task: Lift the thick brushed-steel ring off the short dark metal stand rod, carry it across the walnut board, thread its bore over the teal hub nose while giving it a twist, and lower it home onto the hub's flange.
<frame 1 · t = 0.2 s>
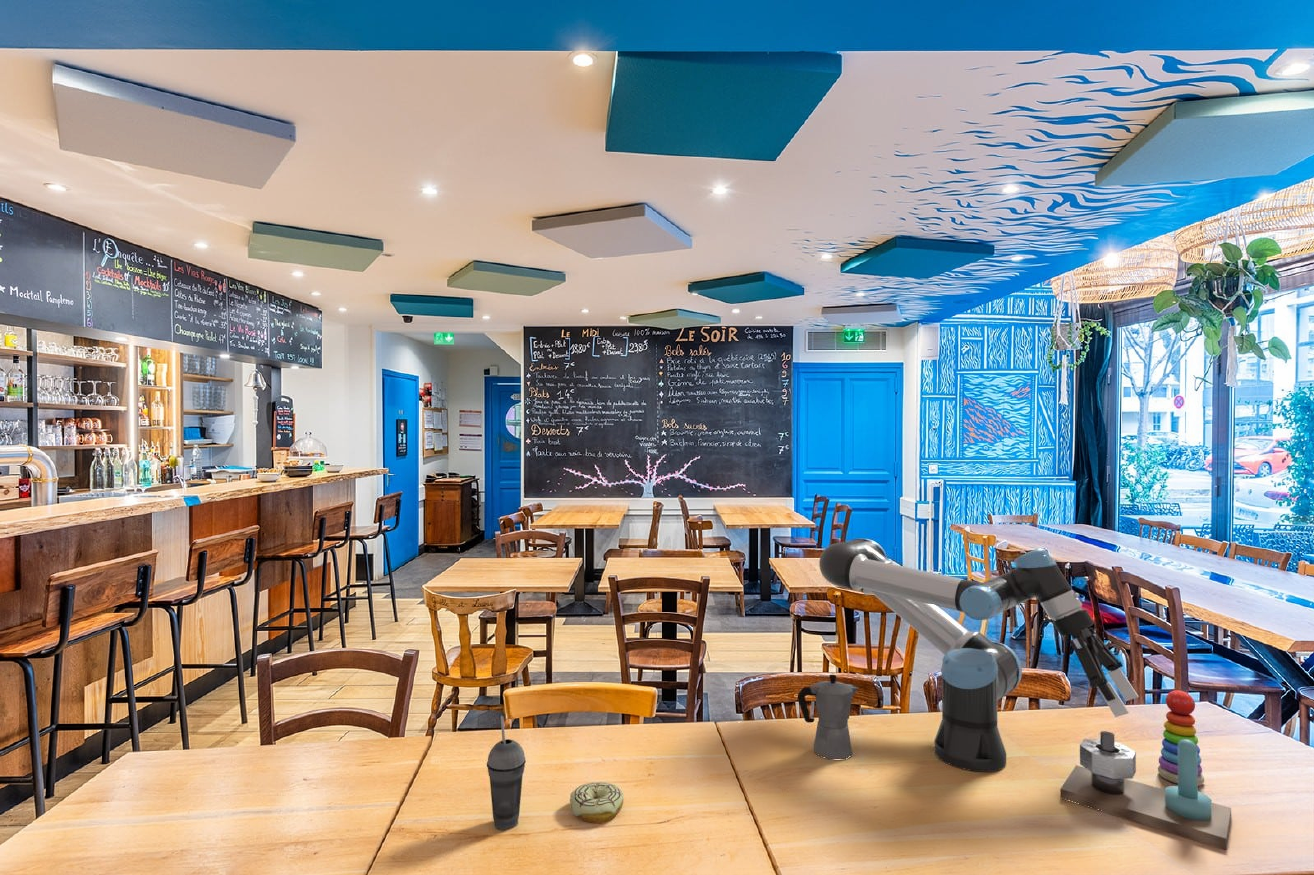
hand: (1127, 706, 148), 15 cm above the table, tool tilted 30°, fingers open, 13 cm apart
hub: (1188, 821, 131), resting on walnut board
stand rod: (1107, 797, 140), resting on walnut board
walnut board: (1143, 808, 136), on the table
beverage cup: (506, 824, 130), on the table
steel ring: (1107, 768, 140), point 6 cm above the table, touching stand rod
coffeepot: (828, 753, 160), on the table
stacking toy: (1180, 780, 148), on the table
decorated donut: (596, 812, 135), on the table
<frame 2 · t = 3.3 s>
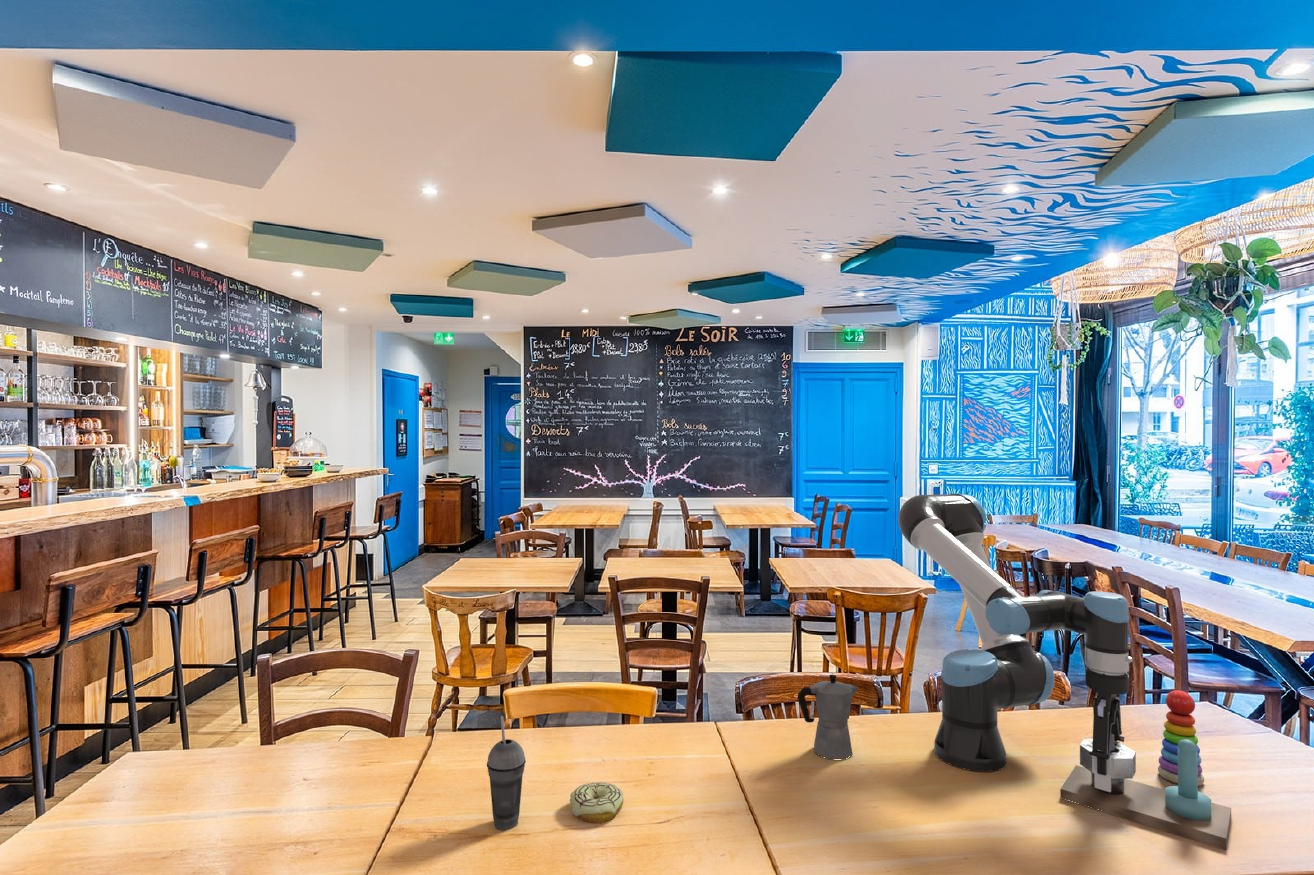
hand: (1107, 780, 140), 3 cm above the table, tool pointing down, fingers closed on steel ring, 9 cm apart
steel ring: (1107, 768, 140), point 6 cm above the table, touching gripper, stand rod
everything else where it was.
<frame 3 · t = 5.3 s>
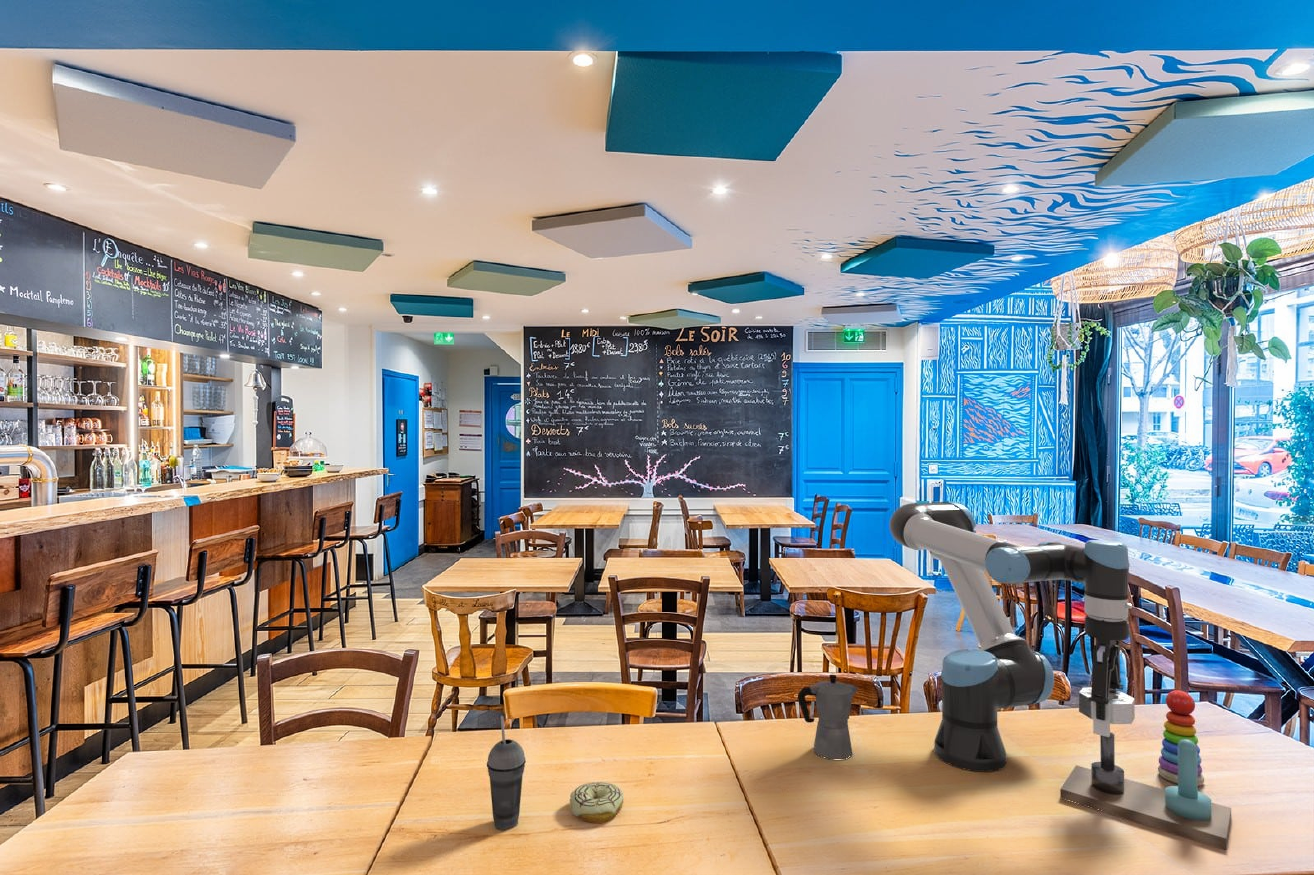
hand: (1106, 727, 140), 14 cm above the table, tool pointing down, fingers closed on steel ring, 9 cm apart
steel ring: (1106, 715, 140), point 17 cm above the table, touching gripper
everything else where it was.
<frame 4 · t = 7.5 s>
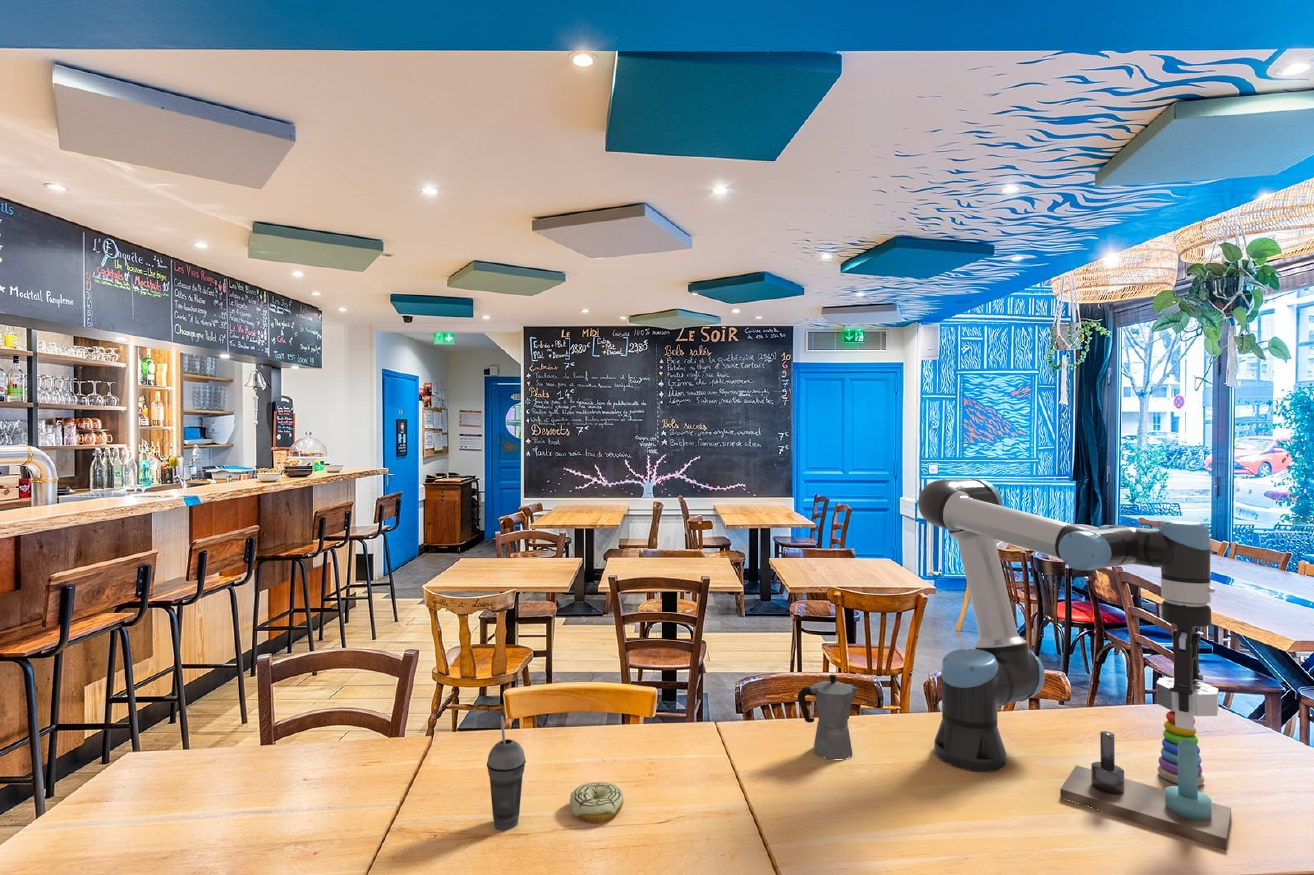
hand: (1187, 720, 131), 19 cm above the table, tool pointing down, fingers closed on steel ring, 9 cm apart
steel ring: (1187, 706, 131), point 22 cm above the table, touching gripper
everything else where it was.
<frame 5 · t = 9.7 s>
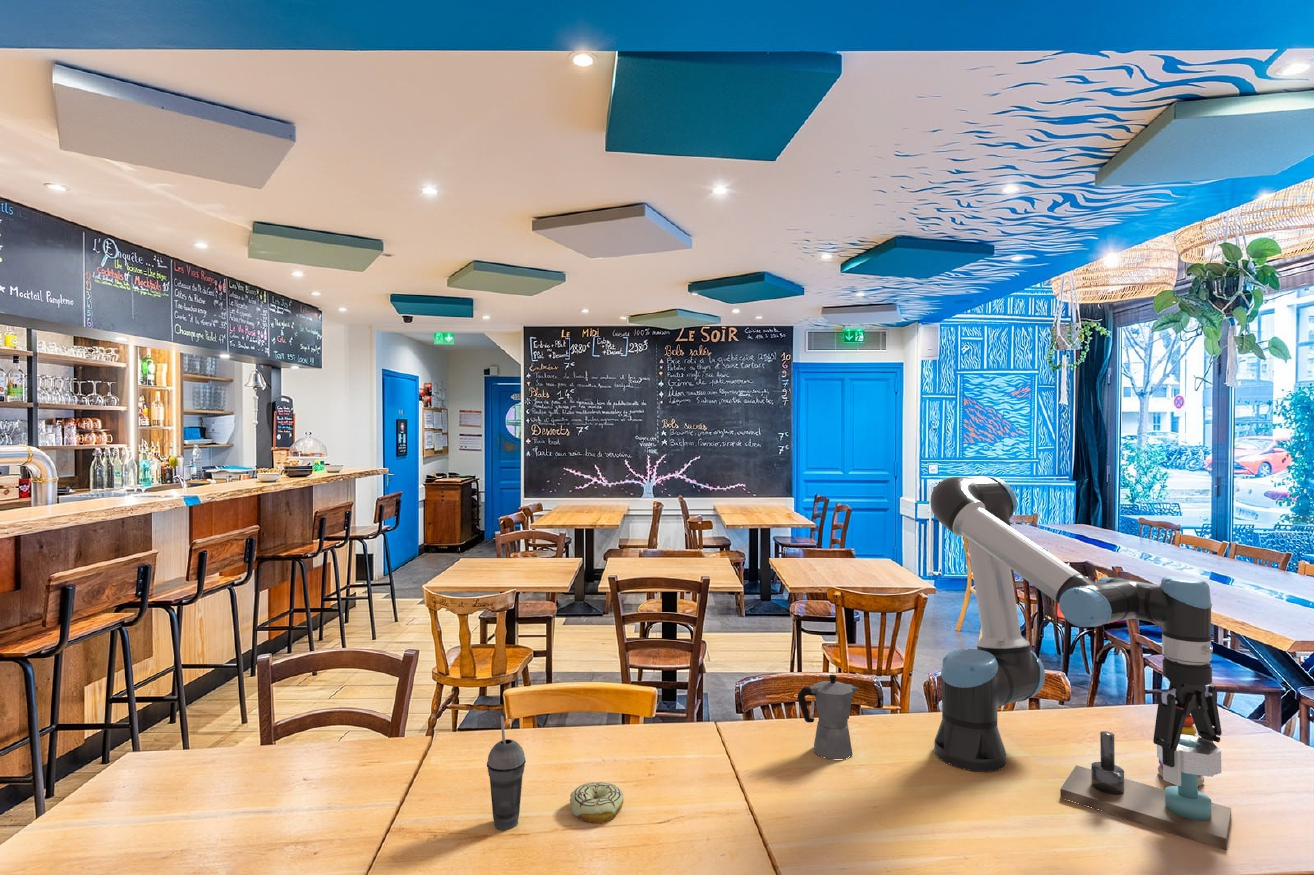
hand: (1188, 778, 131), 8 cm above the table, tool pointing down, fingers closed on steel ring, 9 cm apart
steel ring: (1188, 764, 131), point 11 cm above the table, touching gripper
everything else where it was.
when the fingers open (3 cm above the table, at t = 11.7 s): steel ring stays where it is, resting on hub.
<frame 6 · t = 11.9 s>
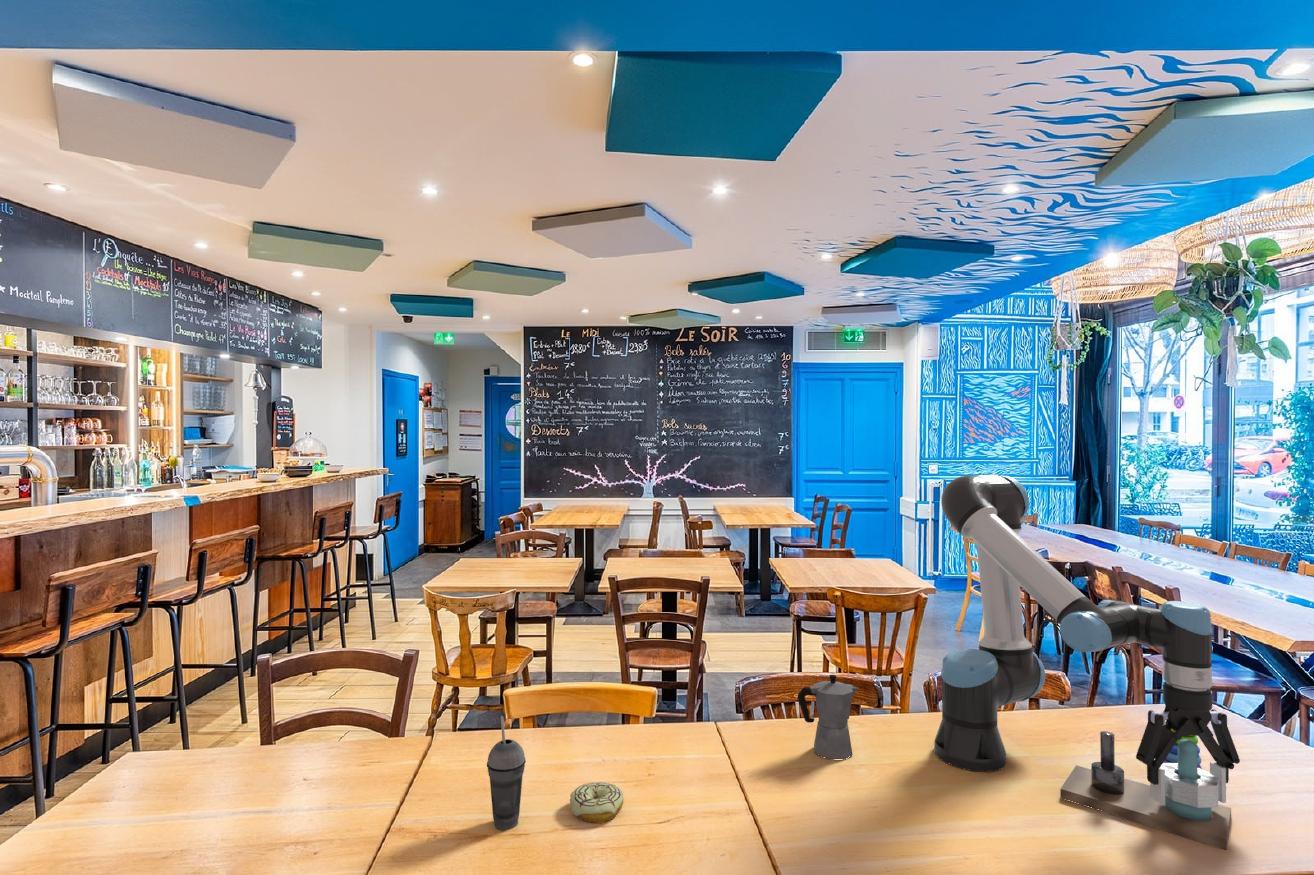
hand: (1187, 800, 131), 4 cm above the table, tool pointing down, fingers open, 11 cm apart
steel ring: (1187, 795, 131), point 5 cm above the table, touching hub
everything else where it was.
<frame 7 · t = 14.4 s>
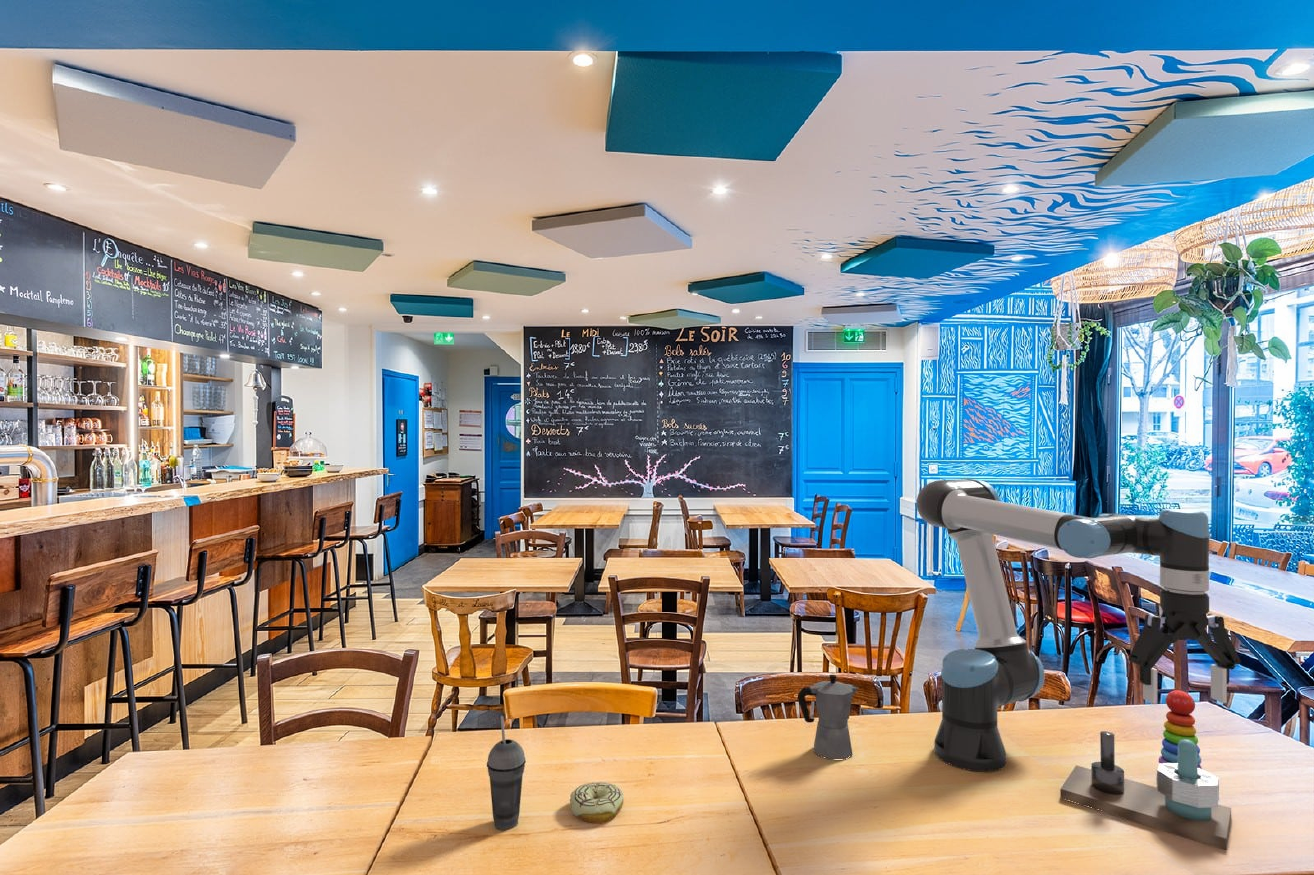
hand: (1184, 701, 132), 23 cm above the table, tool pointing down, fingers open, 13 cm apart
nothing on the table moved.
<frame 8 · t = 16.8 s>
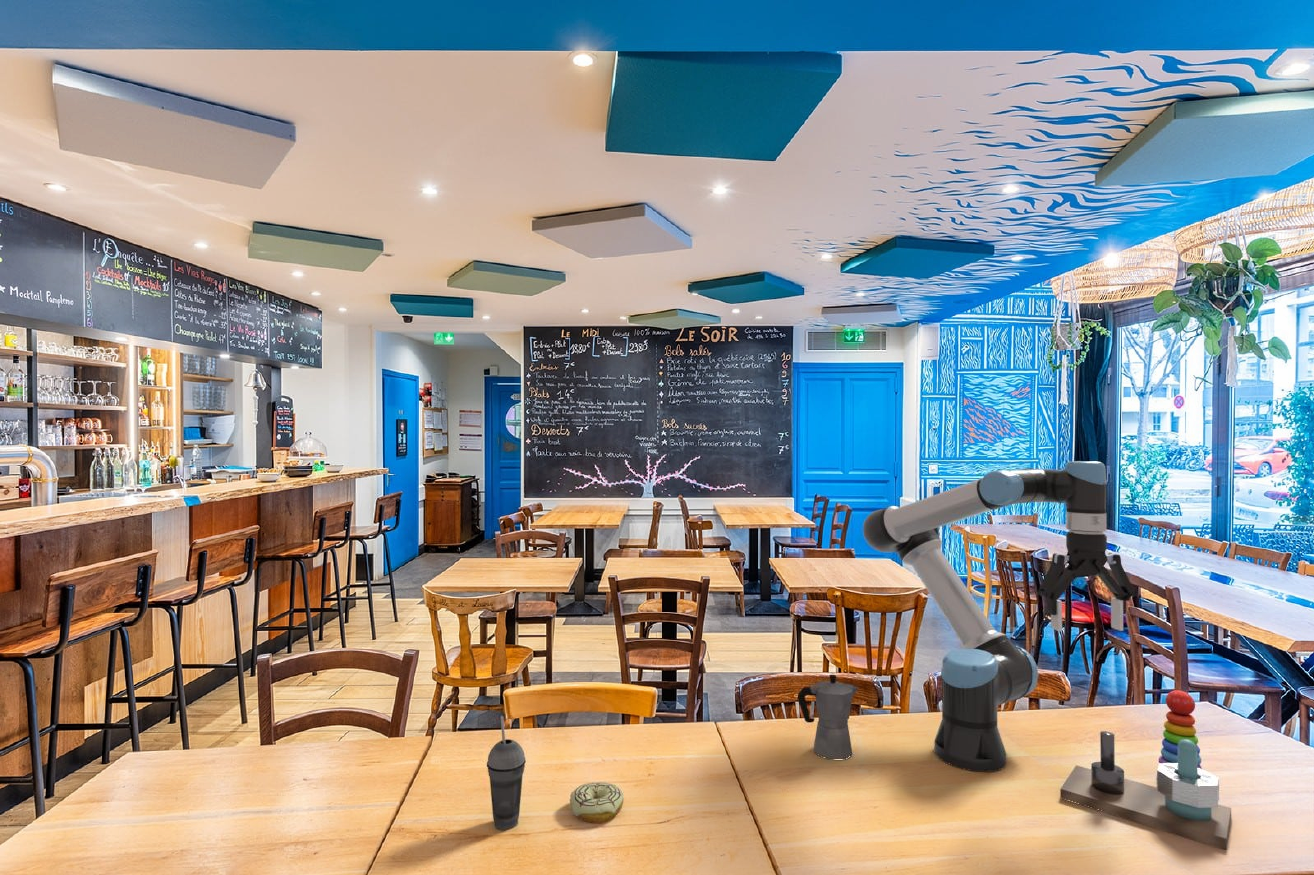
hand: (1086, 629, 149), 32 cm above the table, tool pointing down, fingers open, 13 cm apart
nothing on the table moved.
at the end: steel ring 0.0 cm from the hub (horizontally); steel ring point 5.0 cm above the table; steel ring tilted 0° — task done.
